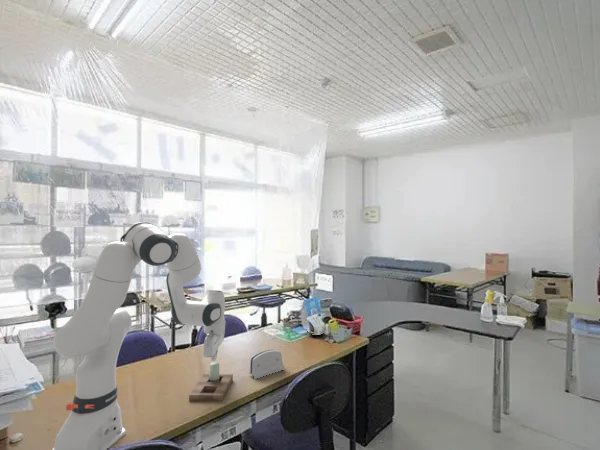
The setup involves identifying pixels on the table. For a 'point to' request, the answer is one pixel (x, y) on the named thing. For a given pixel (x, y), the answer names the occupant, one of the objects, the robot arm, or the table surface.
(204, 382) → the board
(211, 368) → the peg
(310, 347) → the table surface
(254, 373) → the grey rounded block
